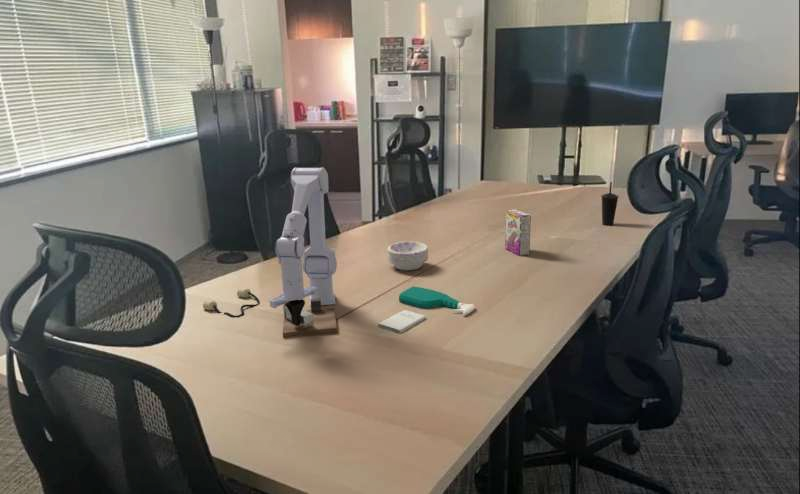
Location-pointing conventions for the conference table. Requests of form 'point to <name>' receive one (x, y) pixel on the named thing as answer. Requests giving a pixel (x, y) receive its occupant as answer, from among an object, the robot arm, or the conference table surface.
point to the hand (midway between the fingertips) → (296, 324)
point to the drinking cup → (609, 207)
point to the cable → (241, 293)
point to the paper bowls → (407, 255)
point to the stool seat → (321, 319)
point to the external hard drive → (401, 321)
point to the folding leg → (305, 317)
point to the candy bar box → (518, 232)
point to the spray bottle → (432, 300)
